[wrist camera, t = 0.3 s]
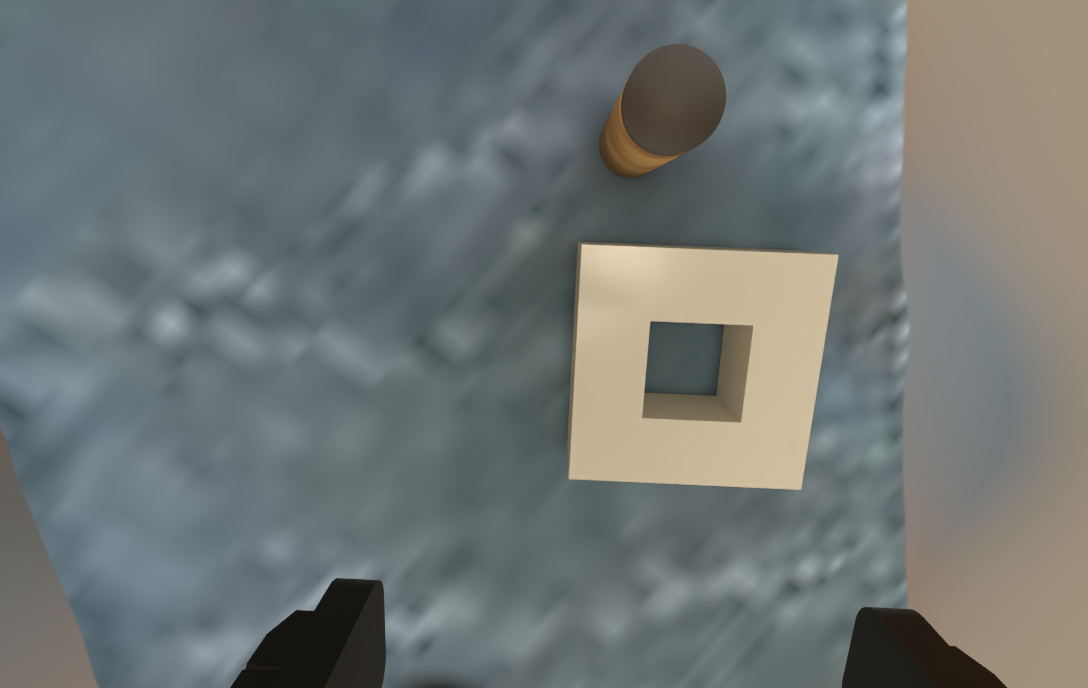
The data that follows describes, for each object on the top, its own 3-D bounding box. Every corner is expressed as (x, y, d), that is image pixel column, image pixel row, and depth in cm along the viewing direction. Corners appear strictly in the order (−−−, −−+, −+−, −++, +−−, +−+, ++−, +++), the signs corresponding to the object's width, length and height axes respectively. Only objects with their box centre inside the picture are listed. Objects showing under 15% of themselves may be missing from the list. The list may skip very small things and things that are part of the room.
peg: (601, 107, 32) (627, 42, 21) (667, 110, 32) (731, 46, 21) (597, 176, 33) (620, 151, 22) (661, 179, 33) (719, 155, 22)
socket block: (577, 241, 34) (581, 244, 29) (798, 250, 34) (838, 254, 29) (567, 445, 37) (568, 479, 32) (768, 454, 37) (801, 489, 32)
